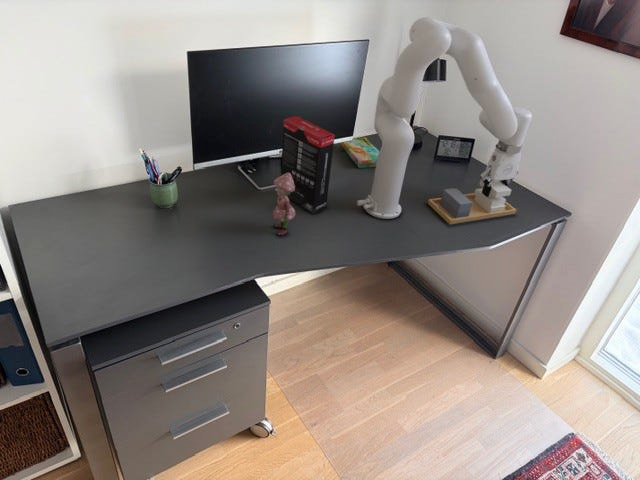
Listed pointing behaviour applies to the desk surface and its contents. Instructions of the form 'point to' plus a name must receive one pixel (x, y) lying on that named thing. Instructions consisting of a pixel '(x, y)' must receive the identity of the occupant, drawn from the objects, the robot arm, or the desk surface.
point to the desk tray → (475, 213)
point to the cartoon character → (284, 201)
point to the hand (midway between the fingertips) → (493, 193)
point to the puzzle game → (361, 152)
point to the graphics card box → (307, 162)
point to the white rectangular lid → (498, 189)
